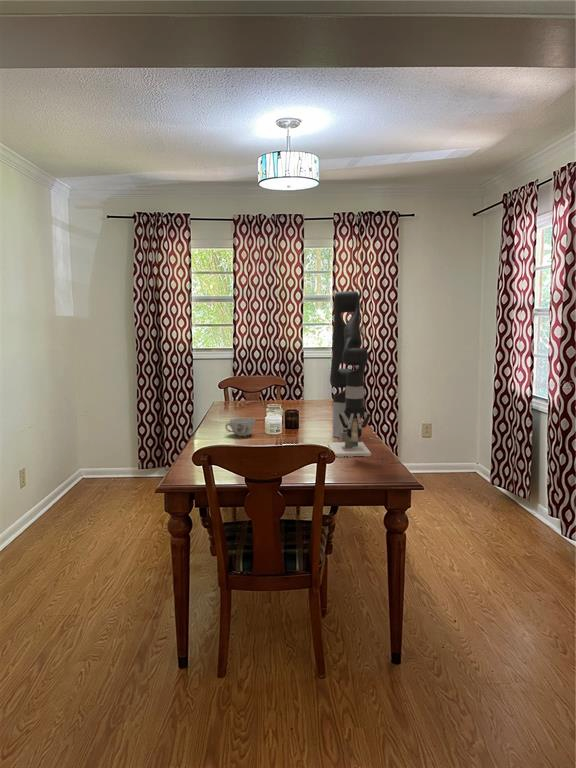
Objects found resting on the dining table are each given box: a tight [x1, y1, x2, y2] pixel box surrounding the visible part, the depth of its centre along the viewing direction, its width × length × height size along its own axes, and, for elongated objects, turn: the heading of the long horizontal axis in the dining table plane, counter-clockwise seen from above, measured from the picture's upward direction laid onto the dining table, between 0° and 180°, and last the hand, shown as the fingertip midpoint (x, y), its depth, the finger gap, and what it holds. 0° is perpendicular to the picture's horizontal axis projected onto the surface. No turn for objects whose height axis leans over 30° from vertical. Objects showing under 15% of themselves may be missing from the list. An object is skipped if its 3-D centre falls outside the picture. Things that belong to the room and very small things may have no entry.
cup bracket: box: [327, 429, 372, 458], centre depth 257 cm, size 20×16×9 cm
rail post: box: [350, 418, 359, 447], centre depth 242 cm, size 3×3×12 cm
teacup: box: [225, 417, 256, 437], centre depth 288 cm, size 15×12×8 cm
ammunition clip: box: [274, 435, 299, 446], centre depth 232 cm, size 11×2×12 cm, turn 117°
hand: (354, 437), depth 243 cm, fingers closed on rail post, 3 cm apart
